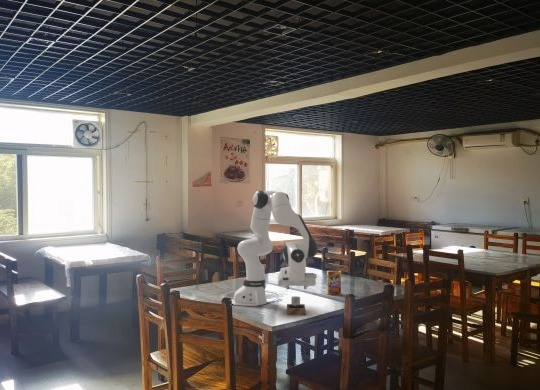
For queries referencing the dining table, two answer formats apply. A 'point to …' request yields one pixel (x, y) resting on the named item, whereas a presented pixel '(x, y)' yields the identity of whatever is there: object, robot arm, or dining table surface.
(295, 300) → the steel socket
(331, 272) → the candy box
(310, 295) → the dining table surface
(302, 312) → the brown wooden square box
